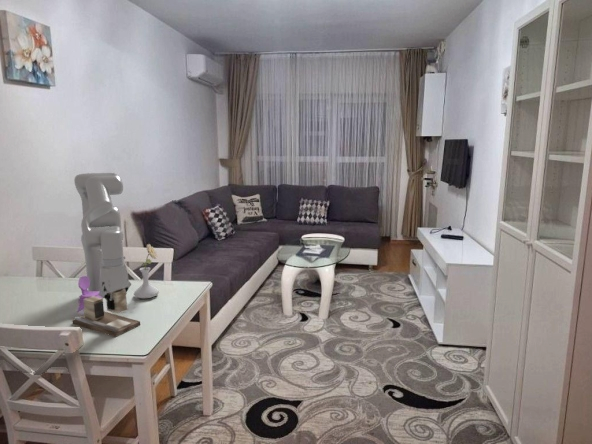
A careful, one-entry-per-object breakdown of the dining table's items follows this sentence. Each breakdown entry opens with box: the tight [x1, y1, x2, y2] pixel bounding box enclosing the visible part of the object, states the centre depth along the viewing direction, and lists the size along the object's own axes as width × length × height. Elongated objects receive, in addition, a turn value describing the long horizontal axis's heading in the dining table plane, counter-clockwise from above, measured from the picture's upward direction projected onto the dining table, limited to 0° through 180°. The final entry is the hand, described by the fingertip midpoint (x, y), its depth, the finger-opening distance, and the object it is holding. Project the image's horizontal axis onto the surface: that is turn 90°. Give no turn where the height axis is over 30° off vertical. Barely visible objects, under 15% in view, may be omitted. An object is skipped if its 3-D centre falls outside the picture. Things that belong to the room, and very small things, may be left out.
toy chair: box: [76, 275, 104, 313], centre depth 180 cm, size 8×9×15 cm
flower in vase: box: [133, 243, 160, 299], centre depth 196 cm, size 13×11×25 cm
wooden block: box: [105, 289, 128, 314], centre depth 161 cm, size 4×7×8 cm
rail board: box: [72, 296, 141, 338], centre depth 165 cm, size 12×25×10 cm, turn 63°
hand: (116, 306), depth 161 cm, fingers closed on wooden block, 4 cm apart
